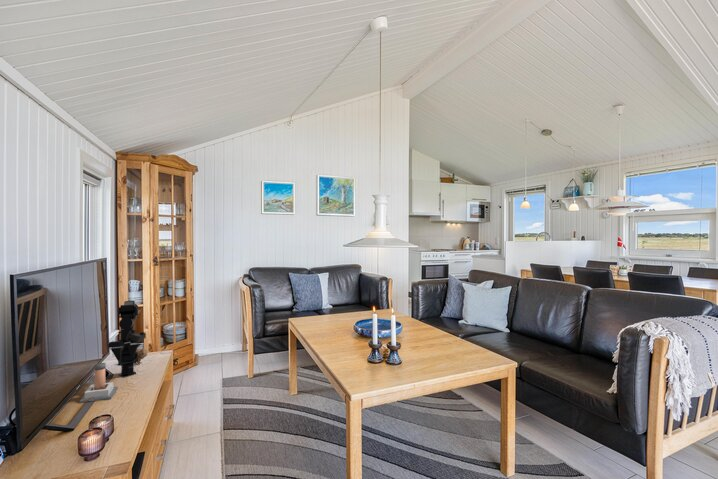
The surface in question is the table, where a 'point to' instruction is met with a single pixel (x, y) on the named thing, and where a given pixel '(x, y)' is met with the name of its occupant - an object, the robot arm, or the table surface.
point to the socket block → (100, 393)
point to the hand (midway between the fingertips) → (126, 359)
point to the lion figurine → (141, 355)
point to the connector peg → (99, 376)
